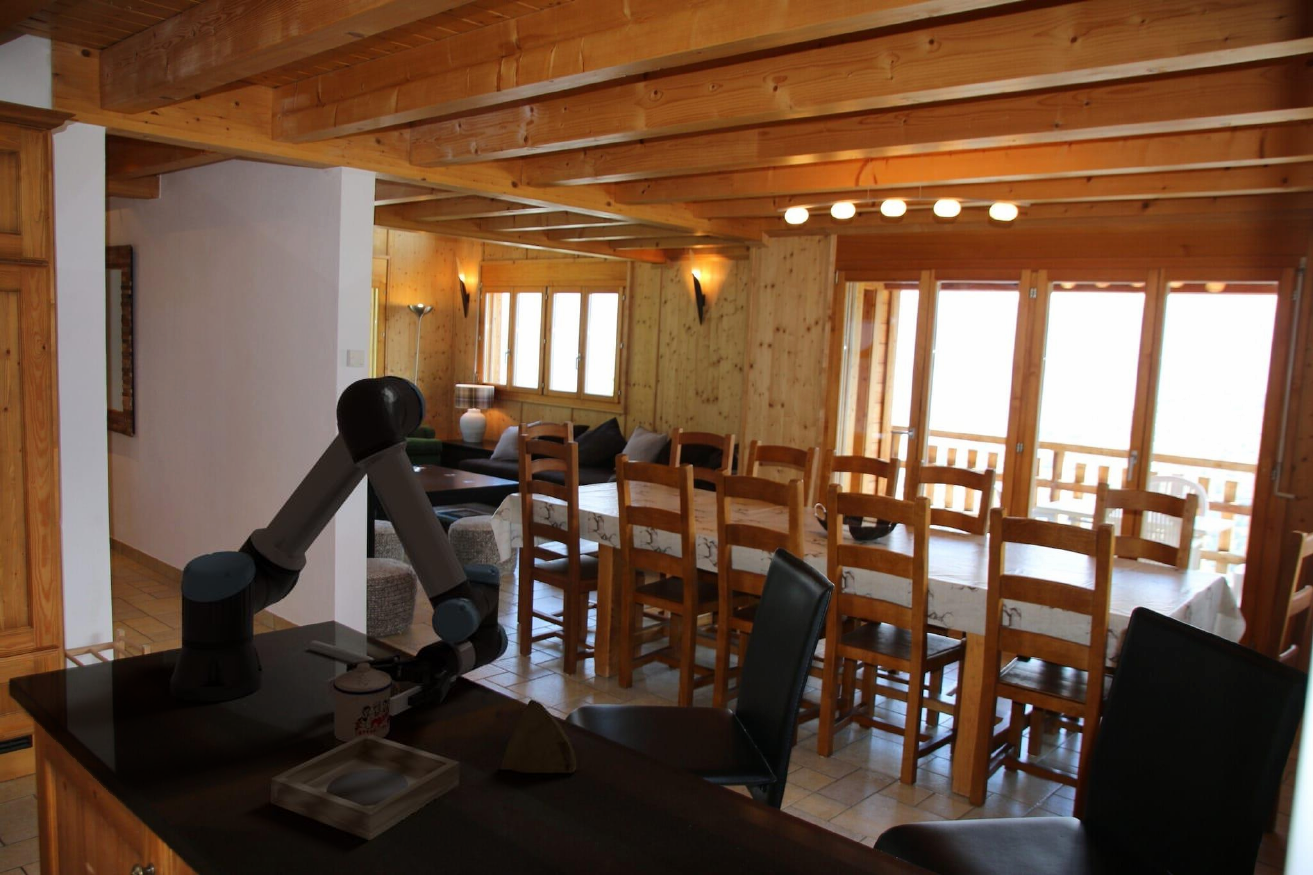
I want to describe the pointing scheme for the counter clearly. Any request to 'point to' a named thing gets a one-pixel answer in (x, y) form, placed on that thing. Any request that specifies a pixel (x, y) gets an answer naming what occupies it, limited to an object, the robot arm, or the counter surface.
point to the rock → (539, 744)
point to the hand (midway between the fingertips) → (358, 697)
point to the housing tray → (365, 785)
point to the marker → (338, 652)
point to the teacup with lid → (362, 703)
